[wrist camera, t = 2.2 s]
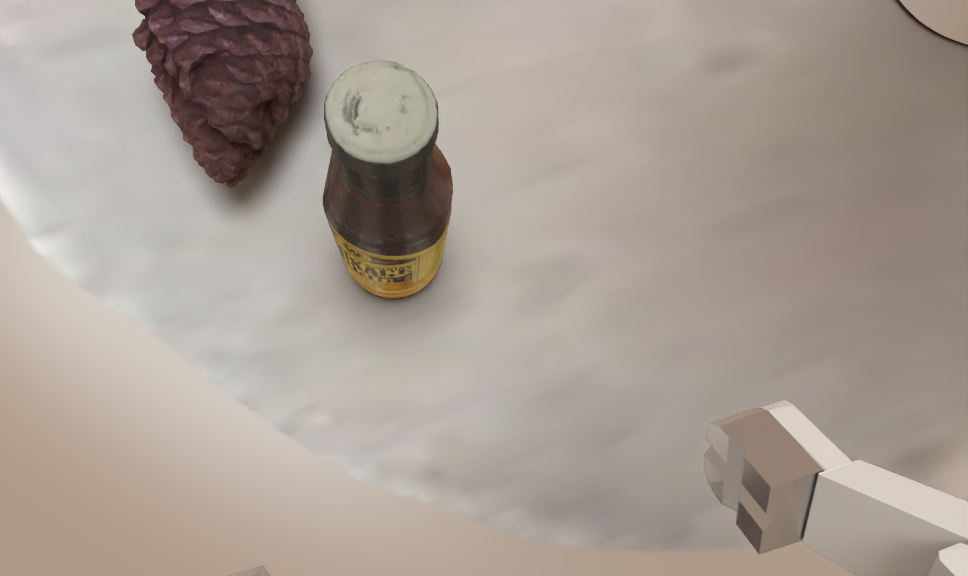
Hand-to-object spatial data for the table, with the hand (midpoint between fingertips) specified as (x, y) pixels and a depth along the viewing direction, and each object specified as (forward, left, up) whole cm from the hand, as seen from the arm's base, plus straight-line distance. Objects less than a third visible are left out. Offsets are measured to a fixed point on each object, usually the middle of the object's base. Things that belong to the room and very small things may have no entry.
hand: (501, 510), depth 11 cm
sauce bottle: (0, -13, -28) cm, 31 cm away
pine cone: (+7, -27, -28) cm, 40 cm away
